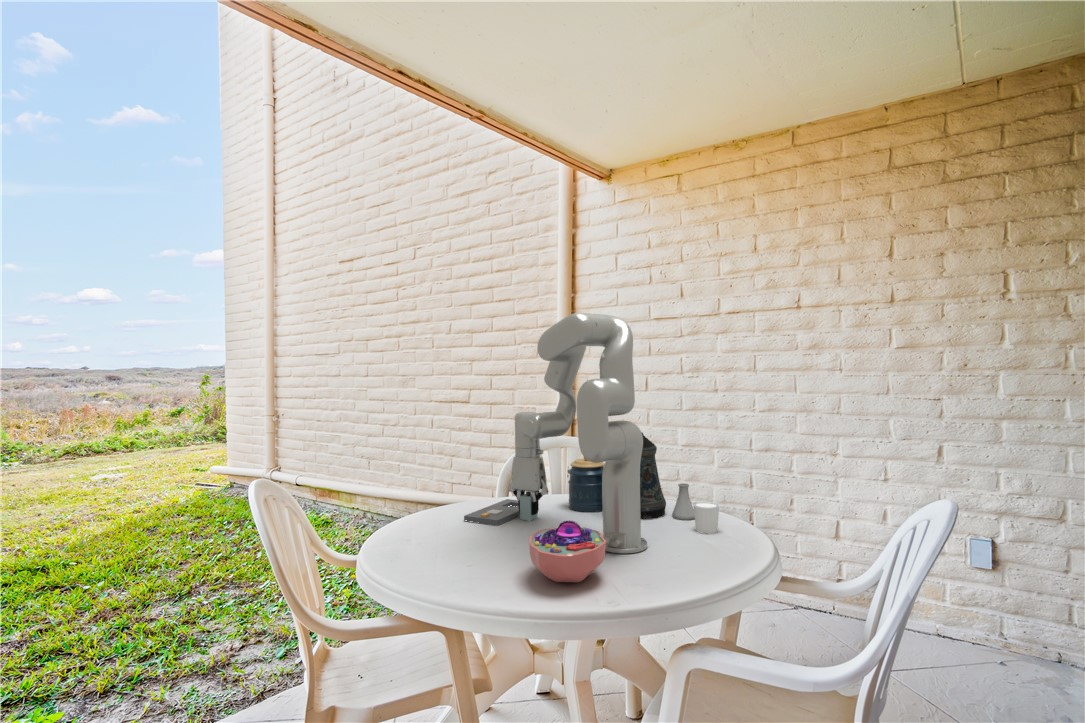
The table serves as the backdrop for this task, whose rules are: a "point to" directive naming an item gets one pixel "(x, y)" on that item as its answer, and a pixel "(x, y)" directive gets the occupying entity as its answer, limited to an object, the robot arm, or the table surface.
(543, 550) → the cell model
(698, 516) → the grey cylinder
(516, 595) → the table surface
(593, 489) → the canister
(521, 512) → the block
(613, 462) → the robot arm
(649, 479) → the beer stein
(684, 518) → the flask
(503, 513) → the outlet plate
